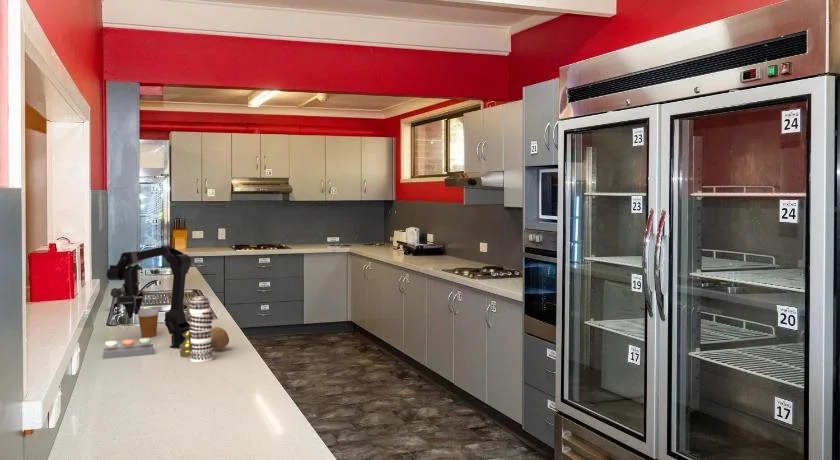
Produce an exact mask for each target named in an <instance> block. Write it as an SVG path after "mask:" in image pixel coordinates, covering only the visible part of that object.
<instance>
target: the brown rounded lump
mask: <svg viewBox="0 0 840 460" xmlns="http://www.w3.org/2000/svg"><path fill="white" fill-rule="evenodd" d="M211 341H212V344H211V345H212V348H211V349H212V350H214V351H216V352H220V351H222V350H223V349H224V348H225V347H227V346H228V345H229V343H230V337H229V335H228V333H227V331H226V330H225V329H224V328H222V327H221V326H220V327H219V326H214V327H212V330H211Z"/></svg>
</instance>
